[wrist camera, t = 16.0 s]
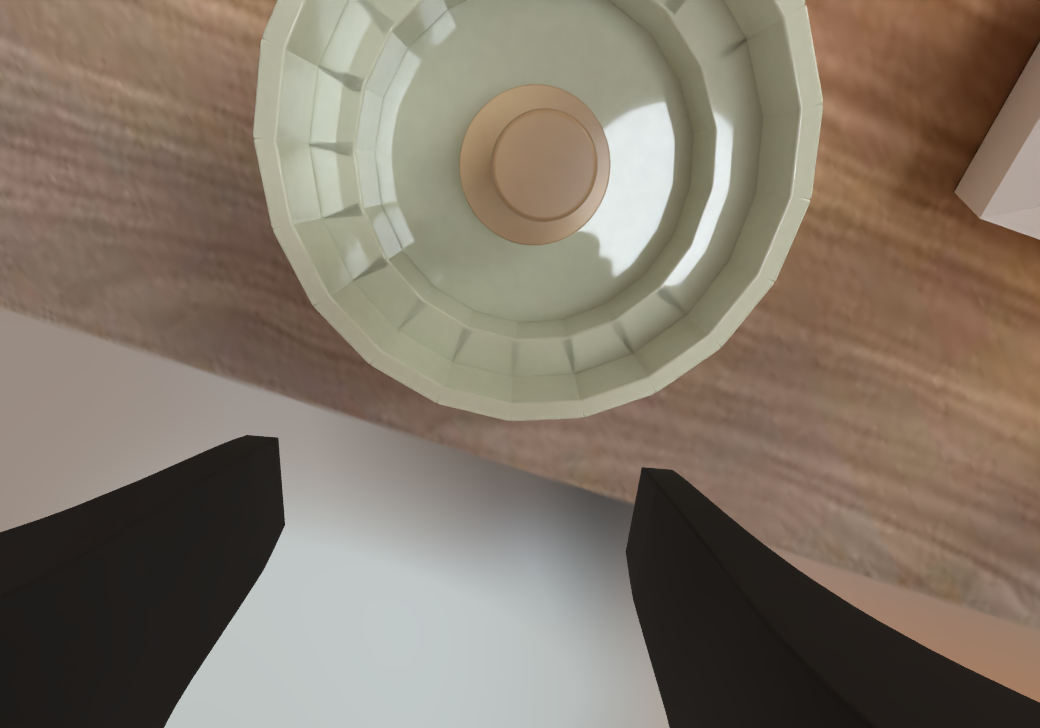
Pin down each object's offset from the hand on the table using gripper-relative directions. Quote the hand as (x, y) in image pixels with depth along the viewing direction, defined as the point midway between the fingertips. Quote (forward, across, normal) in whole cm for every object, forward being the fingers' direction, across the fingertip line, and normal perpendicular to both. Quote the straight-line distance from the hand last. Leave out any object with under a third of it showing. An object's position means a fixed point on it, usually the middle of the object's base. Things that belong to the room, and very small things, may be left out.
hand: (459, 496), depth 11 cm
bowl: (+10, -1, -6) cm, 12 cm away
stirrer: (+10, -1, -6) cm, 12 cm away
